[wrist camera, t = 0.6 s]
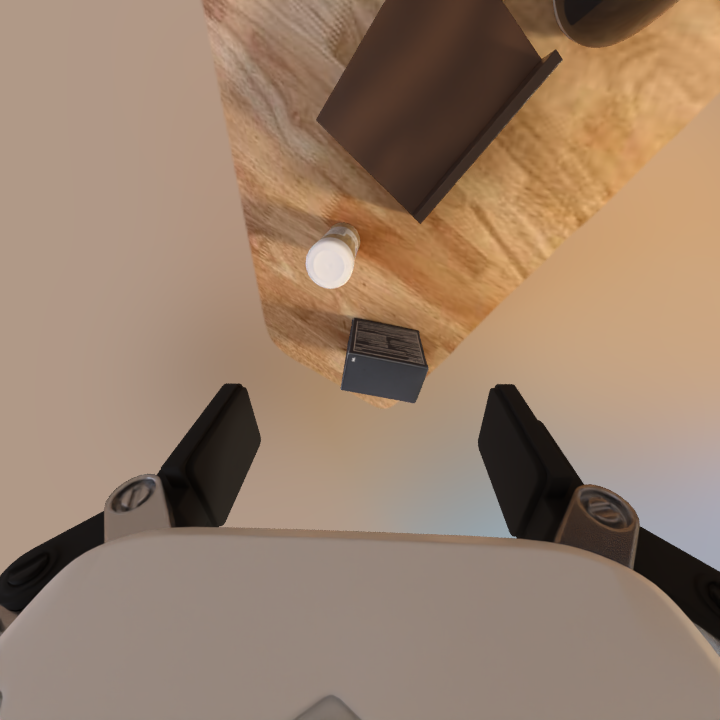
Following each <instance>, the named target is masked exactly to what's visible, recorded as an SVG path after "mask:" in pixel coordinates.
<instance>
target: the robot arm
mask: <svg viewBox="0 0 720 720" xmlns="http://www.w3.org/2000/svg"><path fill="white" fill-rule="evenodd" d="M260 442H261V437H260V433H259V429H258V426H257V423H256V419H255V416H254V412H253V409H252V406H251V402H250V399H249V395H248V392H247V389H246V388H245V387H243V386H242V385H241V384H224V385H223V386H222V388H221V389H220V390H219V391H218V393H217V394H216V395H215V397H214V398H213V399H212V401H211V402H210V403H209V405H208V406H207V407H206V409H205V410H204V411H203V413H202V414H201V415H200V417H199V418H198V419H197V421H196V422H195V423H194V425H193V426H192V427H191V429H190V430H189V431H188V433H187V434H186V435H185V436H184V438H183V439H182V440H181V442H180V443H179V444H178V446H177V447H176V448H175V450H174V451H173V452H172V454H171V455H170V456H169V458H168V459H167V461H166V462H165V463H164V464H163V466H162V467H161V470H160V471H159V473H158V474H157V475H155V474H144V475H139V476H137V477H134V478H132V479H130V480H128V481H126V482H124V483H123V484H122V485H120V486H119V487H118V488H116V489H115V490H114V491H113V493H112V494H111V495H110V496H109V498H108V499H107V501H106V503H105V508H104V511H103V512H101V513H99V514H97V515H96V516H93V517H92V518H90V519H88V520H86V521H84V522H82V523H81V524H79V525H77V526H75V527H73V528H71V529H69V530H67V531H66V532H63V533H62V534H60V535H58V536H56V537H54V538H52V539H50V540H49V541H47V542H45V543H43V544H41V545H39V546H37V547H35V548H33V549H32V550H30V551H29V552H27V553H25V554H24V555H22V556H21V557H19V558H18V559H17V560H16V561H14V562H13V563H12V564H11V565H10V566H9V567H8V568H7V569H6V570H5V571H4V572H3V573H2V574H1V576H0V720H720V572H719V571H717V570H716V569H714V568H712V567H710V566H709V565H706V564H705V563H703V562H702V561H700V560H698V559H696V558H695V557H693V556H691V555H689V554H688V553H686V552H684V551H682V550H681V549H679V548H677V547H675V546H674V545H672V544H670V543H668V542H667V541H665V540H663V539H661V538H659V537H658V536H656V535H654V534H653V533H651V532H649V531H647V530H646V529H644V528H642V527H640V524H639V518H638V516H637V514H636V512H635V510H634V509H633V508H632V507H631V505H630V504H629V503H628V502H627V501H625V500H624V499H623V498H622V497H621V496H619V495H618V494H616V493H614V492H612V491H611V490H609V489H606V488H603V487H601V486H596V485H591V484H589V485H584V484H583V482H582V481H581V479H580V478H579V476H578V475H577V473H576V472H575V470H574V469H573V467H572V466H571V464H570V463H569V461H568V460H567V458H566V457H565V456H564V454H563V453H562V451H561V450H560V448H559V447H558V445H557V443H556V442H555V441H554V439H553V437H552V436H551V435H550V433H549V432H548V430H547V429H546V427H545V426H544V424H543V423H542V422H541V421H539V420H537V419H536V417H535V416H534V414H533V412H532V411H531V409H530V408H529V406H528V405H527V403H526V402H525V400H524V399H523V397H522V396H521V394H520V393H519V391H518V390H517V388H516V387H515V385H512V384H497V385H496V386H495V388H491V389H490V392H489V396H488V400H487V405H486V409H485V413H484V417H483V422H482V426H481V430H480V434H479V438H478V447H479V451H480V453H481V456H482V459H483V461H484V464H485V467H486V469H487V472H488V475H489V478H490V480H491V483H492V486H493V489H494V491H495V494H496V496H497V499H498V502H499V505H500V508H501V510H502V513H503V516H504V518H505V521H506V524H507V527H508V529H509V532H510V534H511V535H512V536H516V537H517V539H515V538H497V537H480V536H460V535H459V536H458V535H436V534H410V533H386V532H359V531H330V530H329V531H328V530H301V529H267V528H229V527H219V526H222V525H224V523H225V522H226V520H227V517H228V515H229V513H230V510H231V508H232V506H233V504H234V502H235V499H236V497H237V495H238V493H239V491H240V488H241V486H242V484H243V482H244V479H245V477H246V475H247V472H248V470H249V468H250V466H251V464H252V462H253V459H254V457H255V455H256V453H257V450H258V448H259V446H260Z"/></svg>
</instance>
